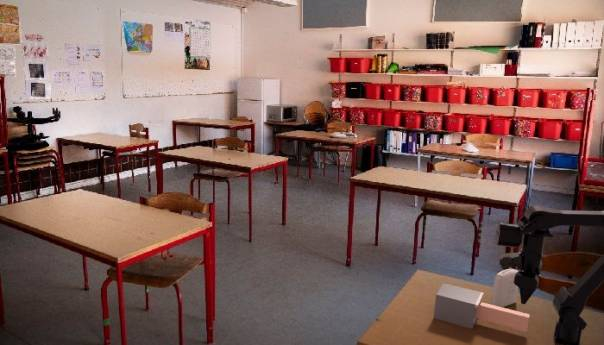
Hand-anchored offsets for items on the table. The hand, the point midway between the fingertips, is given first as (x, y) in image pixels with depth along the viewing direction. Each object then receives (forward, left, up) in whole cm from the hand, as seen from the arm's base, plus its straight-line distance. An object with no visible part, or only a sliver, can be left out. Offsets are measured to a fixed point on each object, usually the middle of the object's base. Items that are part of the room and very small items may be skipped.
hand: (524, 297), depth 150 cm
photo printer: (+7, -19, -12) cm, 24 cm away
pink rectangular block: (+6, 0, -10) cm, 12 cm away
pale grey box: (+19, 0, -12) cm, 22 cm away
